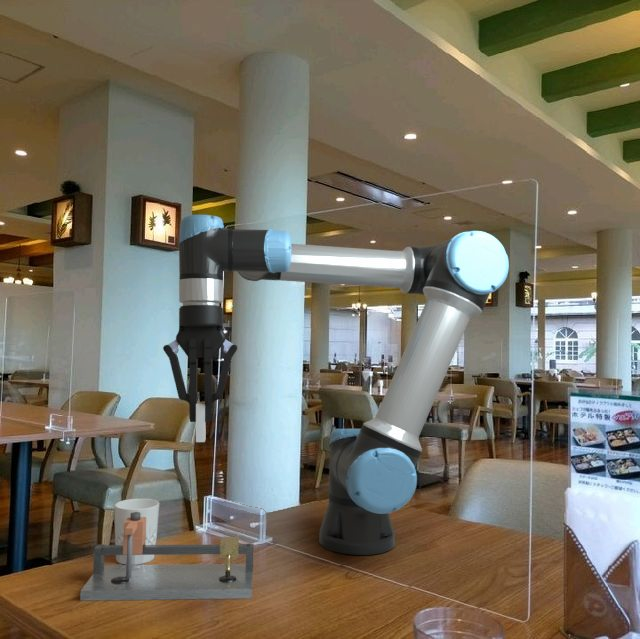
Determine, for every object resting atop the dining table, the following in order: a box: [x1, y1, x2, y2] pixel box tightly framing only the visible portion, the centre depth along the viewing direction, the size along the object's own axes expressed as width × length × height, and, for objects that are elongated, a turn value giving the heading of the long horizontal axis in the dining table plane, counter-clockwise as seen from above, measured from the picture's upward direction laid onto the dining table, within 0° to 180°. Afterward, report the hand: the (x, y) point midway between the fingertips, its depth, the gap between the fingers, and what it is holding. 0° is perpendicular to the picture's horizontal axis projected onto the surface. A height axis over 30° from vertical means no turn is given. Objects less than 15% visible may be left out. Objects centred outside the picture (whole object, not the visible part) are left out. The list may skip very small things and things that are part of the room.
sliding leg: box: [123, 512, 146, 579], centre depth 102 cm, size 3×7×9 cm, turn 5°
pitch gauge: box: [79, 536, 255, 602], centre depth 102 cm, size 26×11×7 cm, turn 95°
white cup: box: [114, 497, 160, 565], centre depth 114 cm, size 8×8×10 cm
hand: (200, 440), depth 108 cm, fingers closed
